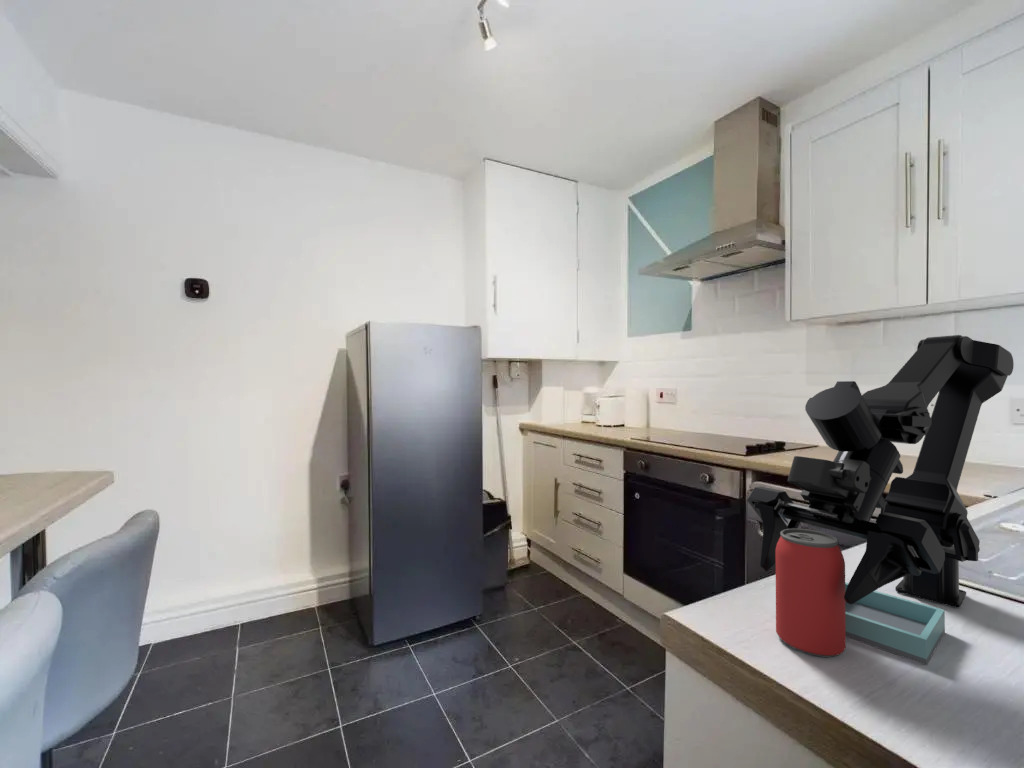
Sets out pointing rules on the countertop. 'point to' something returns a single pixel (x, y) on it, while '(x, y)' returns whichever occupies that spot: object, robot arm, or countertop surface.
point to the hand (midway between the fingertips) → (801, 584)
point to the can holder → (895, 625)
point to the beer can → (810, 592)
